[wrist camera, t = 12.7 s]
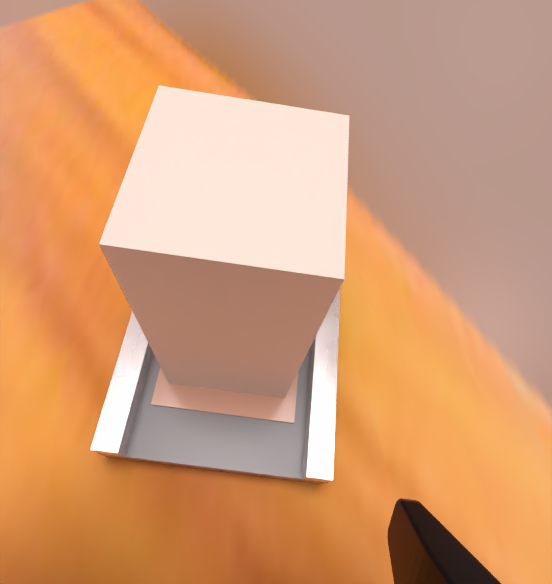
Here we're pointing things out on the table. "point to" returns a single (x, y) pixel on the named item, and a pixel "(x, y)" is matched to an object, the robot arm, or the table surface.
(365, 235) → the table surface
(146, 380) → the display base
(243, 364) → the cream block
